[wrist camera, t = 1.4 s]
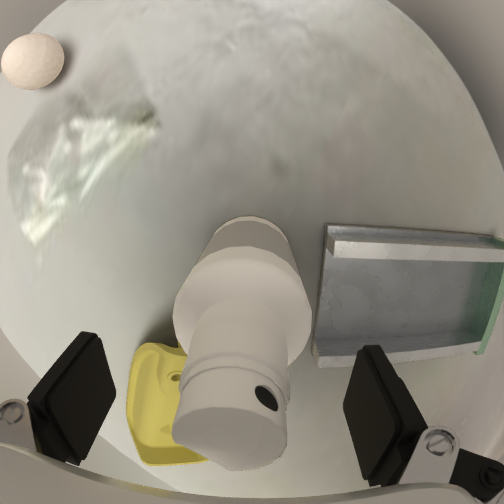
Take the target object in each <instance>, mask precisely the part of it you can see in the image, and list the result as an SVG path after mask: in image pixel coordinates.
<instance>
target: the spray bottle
mask: <svg viewBox="0 0 504 504" xmlns="http://www.w3.org/2000/svg"><path fill="white" fill-rule="evenodd" d="M172 319H173V324H174V329H175V334H176V338H177V339H178V341H179V343H180V344H181V346H182V348H183V350H184V351H185V353H186V354H187V355H188V356H187V359H186V361H185V364H184V367H183V370H182V373H181V376H180V382H179V387H178V388H179V392H180V402H179V405H178V408H177V412H176V415H175V418H174V421H173V426H172V432H171V434H172V438H173V440H174V442H175V443H176V444H179V445H182V446H184V447H185V448H187V449H189V450H192V451H194V452H196V453H198V454H200V455H202V456H203V457H205V458H207V459H209V460H211V461H213V462H216V463H218V464H219V465H221V466H222V467H224V468H226V469H228V470H231V471H243V470H250V469H256V468H260V467H262V466H265V465H268V464H270V463H272V462H273V461H275V460H276V459H277V458H279V457H280V456H281V455H282V453H283V452H284V450H285V448H286V447H287V426H286V414H285V411H286V406H287V404H288V402H289V400H290V383H289V375H288V365H290V364H291V363H292V362H293V361H294V360H295V359H296V358H297V357H298V356H299V354H300V353H301V352H302V351H303V350H304V348H305V345H306V343H307V340H308V338H309V336H310V333H311V321H312V310H311V307H310V304H309V301H308V298H307V295H306V292H305V289H304V286H303V283H302V280H301V277H300V274H299V271H298V268H297V266H296V263H295V260H294V257H293V254H292V251H291V248H290V246H289V243H288V240H287V237H286V236H285V235H284V234H283V232H282V231H281V230H280V229H279V228H278V227H277V226H276V225H274V224H273V223H271V222H269V221H268V220H266V219H262V218H258V217H255V216H247V217H238V218H235V219H233V220H230V221H227V222H226V223H225V224H223V225H222V226H221V227H220V228H219V229H217V230H216V232H215V233H214V235H213V236H212V238H211V240H210V241H209V243H208V244H207V246H206V248H205V249H204V251H203V252H202V254H201V256H200V257H199V259H198V261H197V262H196V264H195V265H194V267H193V269H192V270H191V272H190V274H189V275H188V277H187V279H186V280H185V282H184V284H183V285H182V287H181V289H180V290H179V292H178V294H177V295H176V298H175V304H174V310H173V317H172Z"/></svg>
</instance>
